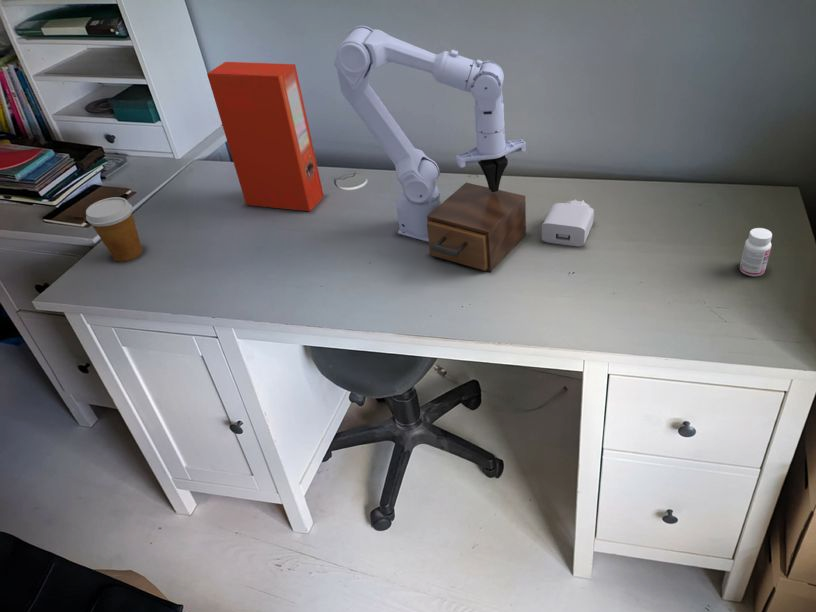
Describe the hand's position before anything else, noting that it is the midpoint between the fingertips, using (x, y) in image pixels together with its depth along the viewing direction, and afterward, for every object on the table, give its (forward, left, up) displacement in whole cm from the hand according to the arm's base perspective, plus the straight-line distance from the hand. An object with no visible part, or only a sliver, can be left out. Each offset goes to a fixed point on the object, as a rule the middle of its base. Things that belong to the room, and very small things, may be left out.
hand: (493, 189), depth 149 cm
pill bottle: (+53, +9, -11) cm, 55 cm away
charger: (+14, +9, -11) cm, 20 cm away
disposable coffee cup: (-71, -43, -11) cm, 84 cm away
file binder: (-54, -9, -11) cm, 56 cm away
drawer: (-1, -10, -9) cm, 14 cm away
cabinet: (-1, -6, -10) cm, 12 cm away
